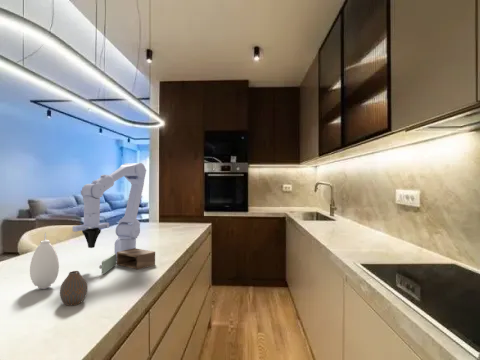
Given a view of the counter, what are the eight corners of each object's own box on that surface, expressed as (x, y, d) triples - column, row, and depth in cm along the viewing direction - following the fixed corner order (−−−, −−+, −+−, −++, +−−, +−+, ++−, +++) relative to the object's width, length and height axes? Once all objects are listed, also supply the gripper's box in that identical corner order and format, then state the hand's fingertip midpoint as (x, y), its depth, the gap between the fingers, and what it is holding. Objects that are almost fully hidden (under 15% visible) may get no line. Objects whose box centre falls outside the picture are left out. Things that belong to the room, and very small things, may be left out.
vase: (58, 309, 82) (59, 276, 82) (60, 300, 88) (60, 270, 88) (87, 305, 85) (88, 273, 86) (87, 296, 91) (87, 267, 92)
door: (111, 264, 128) (111, 253, 128) (116, 264, 128) (116, 253, 128) (98, 273, 114) (99, 261, 114) (104, 273, 114) (104, 261, 114)
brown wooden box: (116, 265, 128) (116, 251, 128) (134, 260, 136) (134, 248, 136) (137, 269, 121) (138, 255, 121) (155, 264, 129) (155, 251, 129)
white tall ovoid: (37, 294, 93) (38, 235, 94) (24, 289, 98) (26, 232, 98) (63, 287, 100) (64, 231, 100) (50, 282, 104) (51, 230, 105)
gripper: (80, 215, 114) (79, 251, 114) (114, 212, 127) (113, 245, 127) (69, 214, 118) (69, 249, 118) (103, 211, 131) (102, 243, 130)
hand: (91, 247), depth 123 cm, fingers closed
